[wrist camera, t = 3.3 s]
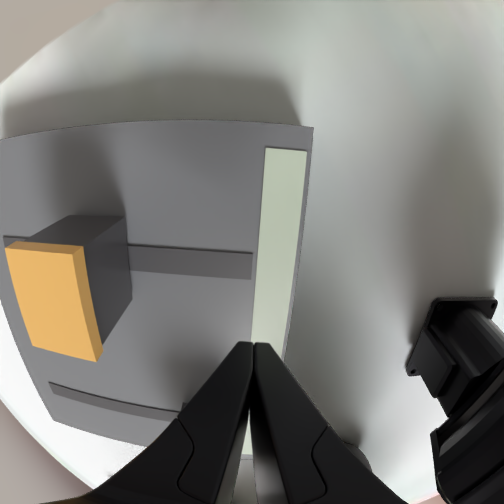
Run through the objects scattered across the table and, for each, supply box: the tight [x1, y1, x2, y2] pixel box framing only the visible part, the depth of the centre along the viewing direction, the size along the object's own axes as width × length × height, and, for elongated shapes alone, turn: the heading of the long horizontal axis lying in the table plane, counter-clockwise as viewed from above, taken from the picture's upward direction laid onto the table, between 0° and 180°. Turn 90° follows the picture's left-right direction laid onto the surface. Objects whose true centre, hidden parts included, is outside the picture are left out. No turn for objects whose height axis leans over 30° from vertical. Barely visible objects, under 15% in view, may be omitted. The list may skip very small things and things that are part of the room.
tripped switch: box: [5, 215, 133, 362], centre depth 11 cm, size 3×4×4 cm
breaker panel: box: [0, 120, 314, 460], centre depth 16 cm, size 18×22×3 cm
